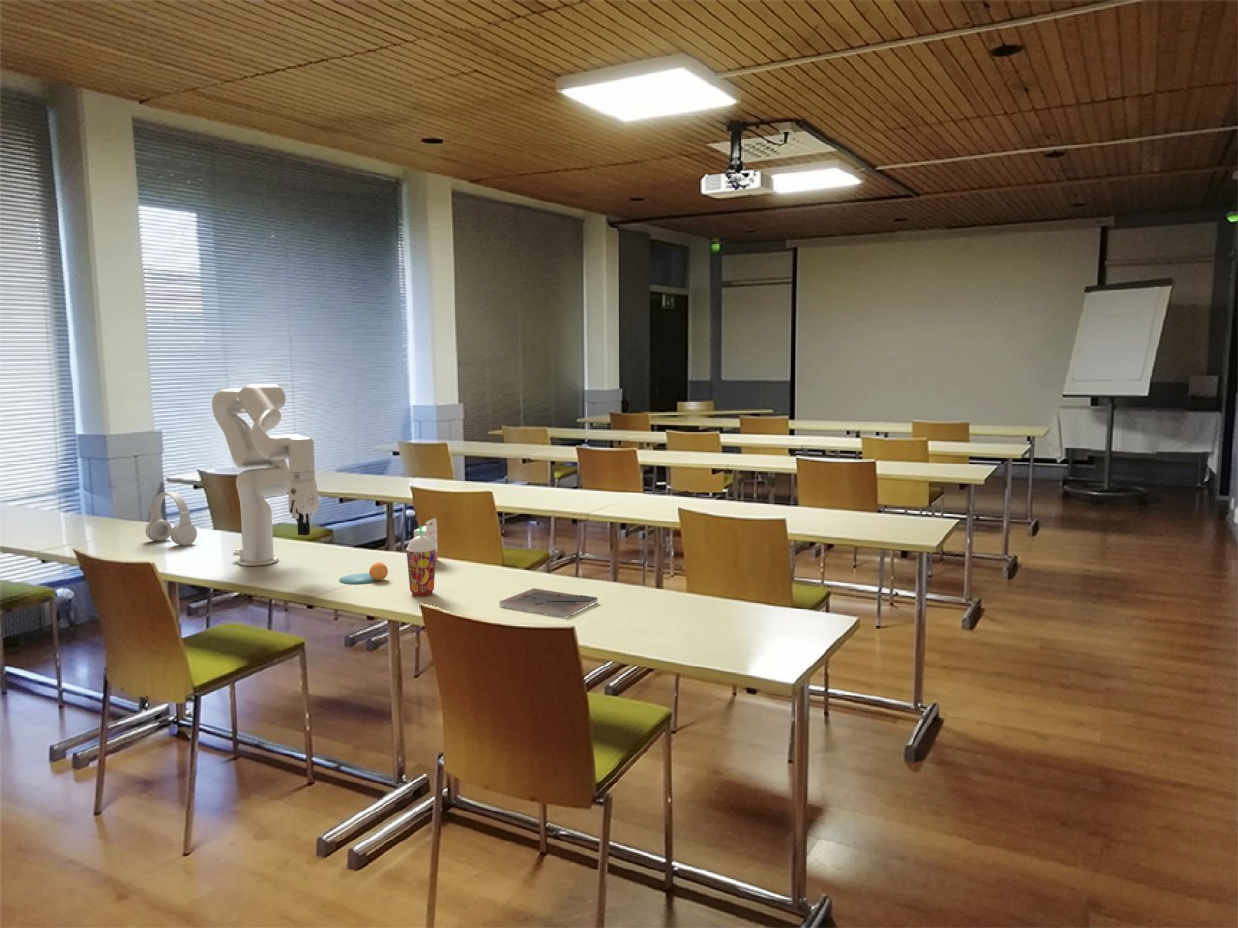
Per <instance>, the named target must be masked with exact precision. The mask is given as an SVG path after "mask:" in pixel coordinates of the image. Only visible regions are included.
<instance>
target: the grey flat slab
mask: <svg viewBox="0 0 1238 928" xmlns="http://www.w3.org/2000/svg"><path fill="white" fill-rule="evenodd" d="M596 601H597V602H598V597H597V596H596V597H595V596H590V595H589V596H588V595H582V594H581V595H580V594H575V593H574V594H573V593H566V592H559V591H553V590H547V589H540V588H534V587H533V588H531V589H528V590H526V591H523V592H520V593H518V594H515V595H513V596H510V597H507V598H505V599H502V600H499V607H500V606H502V607H501V608H503V607H509V608H515V609H521V610H526V611H525V612H527V611H531V612H530V613H533V612H535V613H534V614H540V615H544V614H547V615H546V616H550V615H552V617H556V616H558V618H562V617H567V616H569V615H571V614H573V613H575V612H577V611H579V610H581V609H583V608H585V607H587V606H589V605H590V604H592V603H595V602H596ZM509 608H508V609H509ZM515 609H514V610H515ZM521 610H520V611H521ZM569 617H570V616H569ZM567 618H568V617H567Z"/></svg>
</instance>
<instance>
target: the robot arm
mask: <svg viewBox="0 0 1238 928" xmlns="http://www.w3.org/2000/svg"><path fill="white" fill-rule="evenodd" d="M286 400H287V399H286V394H285V392H284V390H283V388H282V387H281V386H279V385H277V384H263V383H262V384H249V385H245V386H243V387H242V388H226V389H225V388H224V389H221V390H218V391H217V392H215V393H214V395H213V397H212V401H211V408H212V413H213V416H214V418H215V421H216V422H217V424H218V426H219V427H220V430H221V431H222V432H223V434H224V437H225V439H226V443H227V446H228V449H229V452H230V455H231V458H232V461H233V463H234V465H235V466H236V467H237V468H240V469H244V470H243V471H242V472H240V473H238V474H237V477H236V480H235V484H236V490H237V494H238V499H239V504H240V505H239V508H240V519H241V520H240V521H241V523H240V524H241V542H242V543H241V546H242V548H236V549H234V550H233V553H232V555H233V556H238V557H239V559H237V564H238V565H240V566H245V567H246V566H247V567H248V566H249V567H251V566H252V567H258V566H266V565H272V564H274V563H277V562H279V556H278V555H275V554H274V538H273V537H274V535H273V534H274V533H273V514H272V513H273V511H272V508H271V505H270V504H269V502H267V501H266V499H265V497H272V496H278V495H279V496H280V495H284V494H287V493H288V511H289V514H291V518H292V520H293V519H294V520H295V521H296V523H297V535H298V536H308V535H310V534H311V528H310V527H311V525H310V524H311V523H310V522H311V518H312V517H311V516H312V515H313V514H314V513H315V512H317V511H318V510H319V508H320V506H319V505H320V504H319V503H320V501H319V492H318V485H317V481H316V475H315V473H316V470H315V467H316V466H315V443H314V439H313V437H309V436H303V435H300V434H283V435H282V434H280V435H269V434H268V433H267V432H268V431H271V430H272V429H274V428H275V427H277V426H278V424H280V422H281V420H282V414H281V411H280V410H281V409H283V408H284V406H285V404H286ZM239 414H241V415H242V414H247V415H248V416H249V417H250V419H251V420H252V422H253V425H252V427H251V426H250V425H249V424H248V422H247V421H246V420H244V419H243V418H242V417H241V416H239ZM287 460H288V463H287ZM245 469H246V470H245Z"/></svg>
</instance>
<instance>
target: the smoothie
mask: <svg viewBox="0 0 1238 928" xmlns="http://www.w3.org/2000/svg"><path fill="white" fill-rule="evenodd" d="M422 527H423V526H422V525H420V526H419V528H420V536H417V537H414V536H413V538H412V539H411V540H410V541H409V543H408V544H407V547H406V548H405V550H406V560H407V570H408V571H407V572H408V581H409V582H408V584H409V591H410V592H411V595H412V596H414V597H416V596H424V597H428V596H427V595H429V596H431V595H432V594H433V591H434V590H435V575H436V561H435V555H436V547H435V546H434V543H433V542H432V540H431V539H430V538H428V537H426V536H423V535H422ZM430 594H431V595H430Z"/></svg>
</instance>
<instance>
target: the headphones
mask: <svg viewBox="0 0 1238 928" xmlns="http://www.w3.org/2000/svg"><path fill="white" fill-rule="evenodd" d="M166 496H169V497H171V499H172V500H173V501H174V502H175V504H176V507H177V509H178V514H179V515H178V516H179V523H176V524H175V525H174V526H173V527H172V525H171V522H168V520H165V519H163V517H162V516H163V515H162V507H161V506H162V504H163V501H164V499H165V497H166ZM150 513H151V514H150V520H149V522H148V523H147V525H146V527H145V535H146V537H147V538H148V539H149V540H151V541H154V542H163V540H164V541H166V540H167V539H168V538H170V539H171V541H172V543H175V545H179V546H182V547H185V546H187V545H188V546H190V545H192V544H194V542H195V541H196V539H197V536H198V532H197V531H198V530H197V528H196V526H194V525H193V523H192V522H191V518H190V515H191V512H190V511H189V509H188V506H187V504H186V501H185V500H184V498H183V496H181V494H179V493H178V492H176V491H165V492H160V493H159V494H157V495H156V496H155V498H154V499H153V503H152V505H151V508H150Z"/></svg>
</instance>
